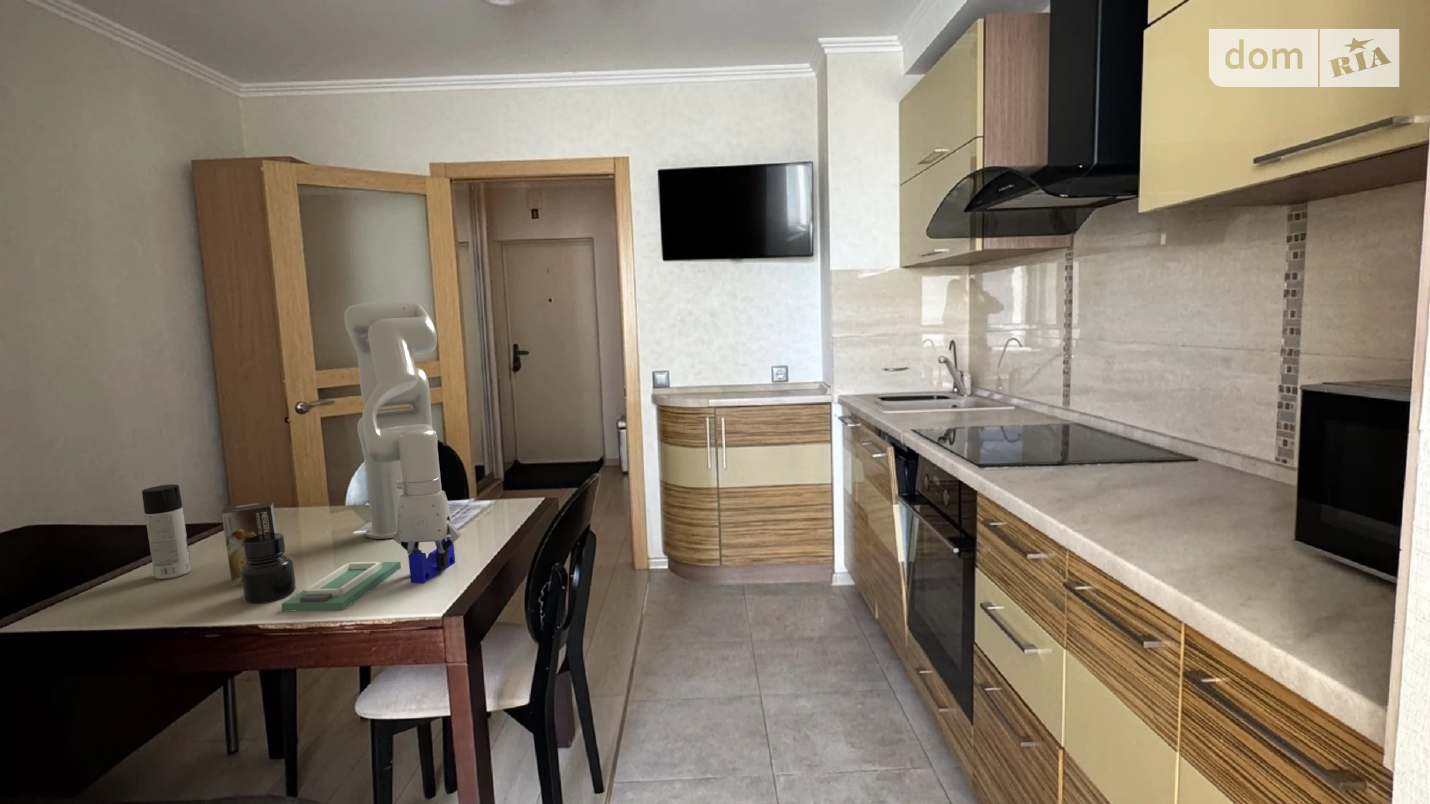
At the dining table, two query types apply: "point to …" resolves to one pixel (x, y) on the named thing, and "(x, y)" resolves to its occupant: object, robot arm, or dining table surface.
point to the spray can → (166, 531)
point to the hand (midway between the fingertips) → (430, 569)
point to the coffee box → (245, 531)
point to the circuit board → (342, 586)
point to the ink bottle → (267, 569)
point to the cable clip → (427, 564)
